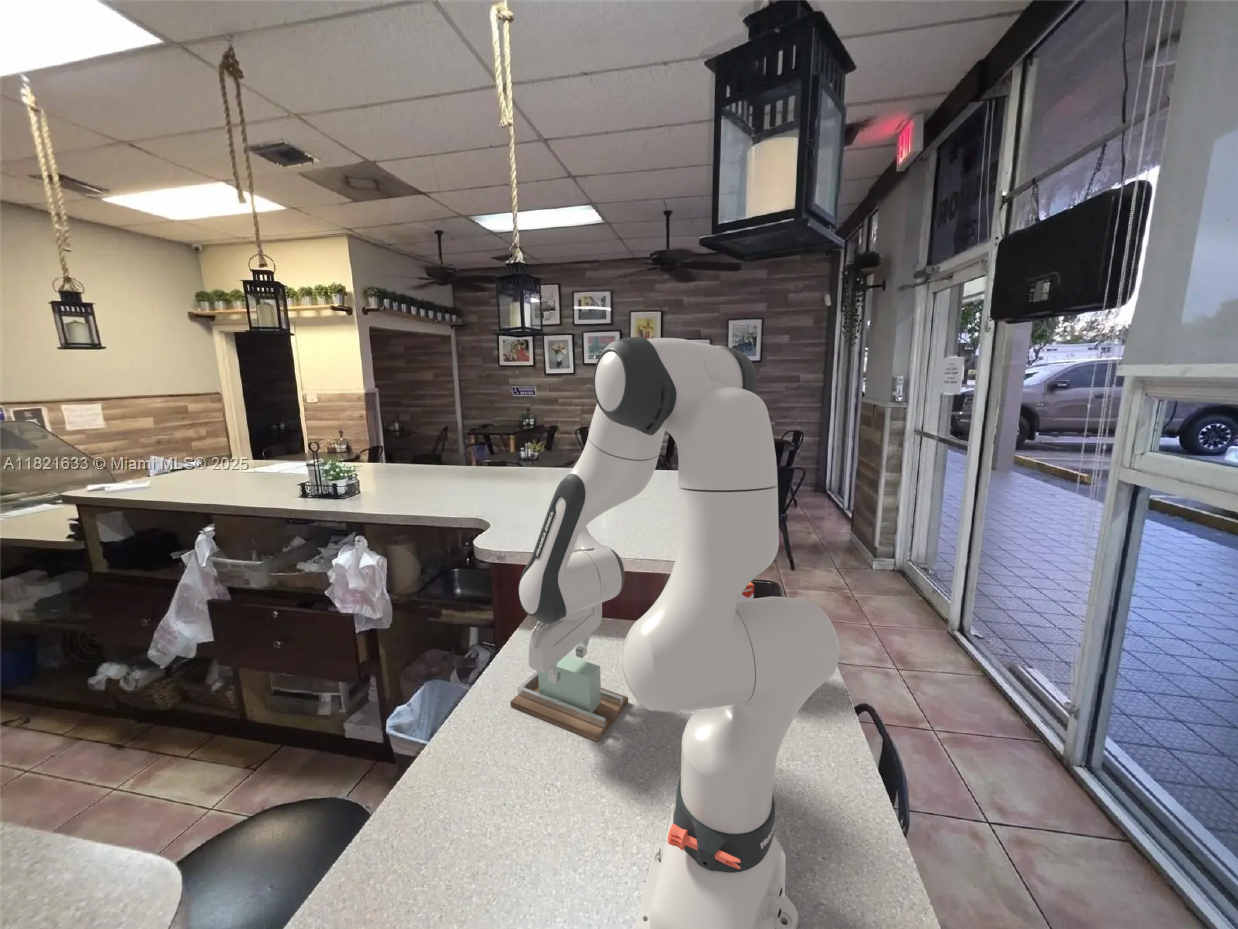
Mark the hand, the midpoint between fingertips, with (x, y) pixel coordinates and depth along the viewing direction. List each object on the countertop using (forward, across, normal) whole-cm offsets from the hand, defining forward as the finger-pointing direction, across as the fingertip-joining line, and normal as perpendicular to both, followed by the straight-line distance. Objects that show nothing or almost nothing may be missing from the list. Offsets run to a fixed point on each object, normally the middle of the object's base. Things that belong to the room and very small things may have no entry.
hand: (568, 667), depth 96 cm
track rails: (+7, 0, 0) cm, 7 cm away
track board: (+8, 0, 0) cm, 8 cm away
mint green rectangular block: (+7, 0, 0) cm, 7 cm away
